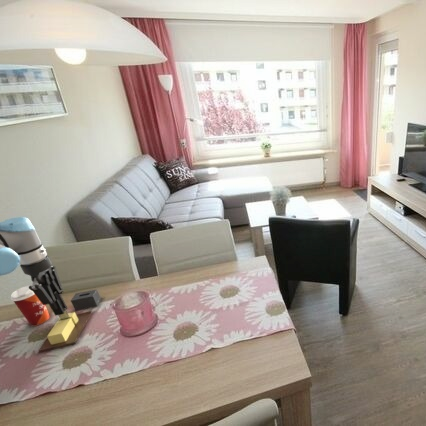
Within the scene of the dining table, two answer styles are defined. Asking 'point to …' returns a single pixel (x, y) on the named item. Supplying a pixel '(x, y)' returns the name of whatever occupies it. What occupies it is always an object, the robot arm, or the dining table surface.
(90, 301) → the dark grey block
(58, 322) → the butter stick
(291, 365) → the dining table surface
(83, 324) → the butter board
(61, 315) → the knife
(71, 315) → the butter pat
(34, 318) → the coffee cup
